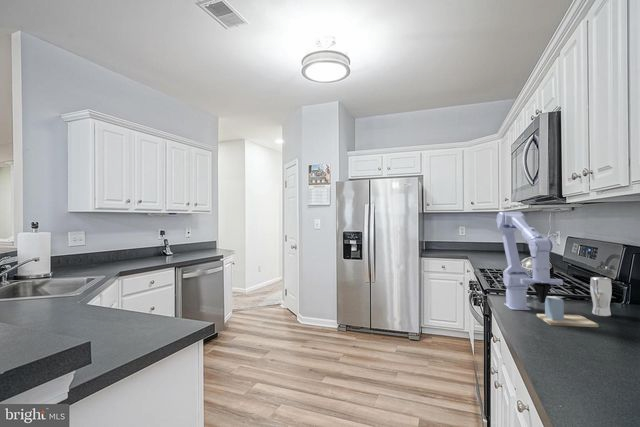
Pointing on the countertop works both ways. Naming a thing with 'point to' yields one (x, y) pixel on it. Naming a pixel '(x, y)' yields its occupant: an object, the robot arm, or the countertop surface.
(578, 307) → the countertop surface
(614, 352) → the countertop surface
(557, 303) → the slab
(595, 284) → the beer glass
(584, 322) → the board
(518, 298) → the robot arm
